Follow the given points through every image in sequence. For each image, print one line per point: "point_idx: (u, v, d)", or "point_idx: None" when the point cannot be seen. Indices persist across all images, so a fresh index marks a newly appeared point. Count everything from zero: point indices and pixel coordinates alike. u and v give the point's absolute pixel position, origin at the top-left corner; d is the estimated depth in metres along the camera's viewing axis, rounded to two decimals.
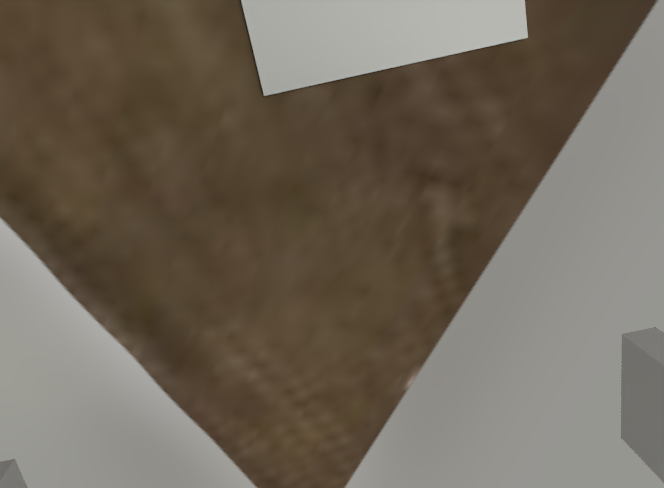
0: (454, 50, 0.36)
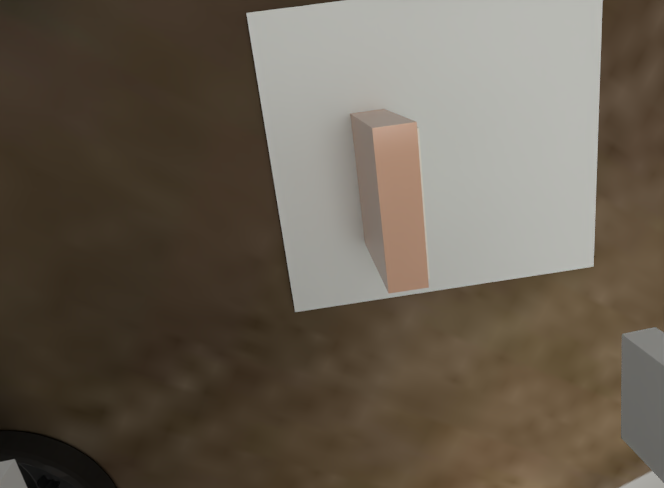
0: (596, 62, 0.32)
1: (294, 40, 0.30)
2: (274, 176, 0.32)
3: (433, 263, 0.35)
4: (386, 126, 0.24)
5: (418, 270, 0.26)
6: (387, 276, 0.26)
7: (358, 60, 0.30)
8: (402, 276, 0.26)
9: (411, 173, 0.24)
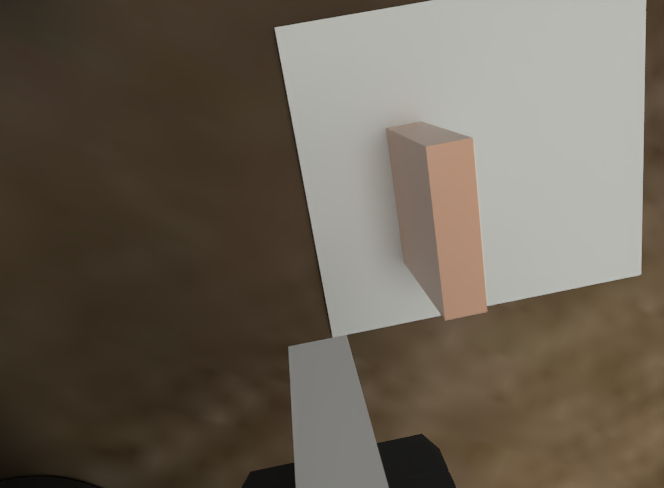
0: (641, 62, 0.30)
1: (325, 54, 0.28)
2: (308, 197, 0.30)
3: None
4: (440, 144, 0.22)
5: (476, 294, 0.24)
6: (443, 302, 0.24)
7: (393, 72, 0.29)
8: (459, 301, 0.24)
9: (467, 192, 0.23)
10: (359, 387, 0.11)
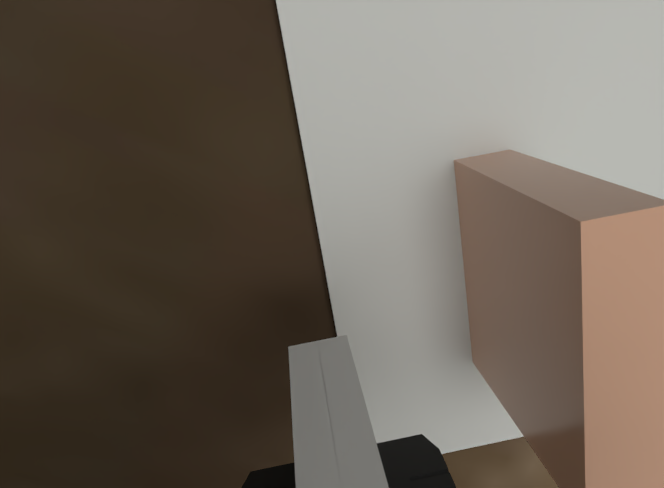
0: None
1: (360, 40, 0.17)
2: (327, 269, 0.19)
3: None
4: (610, 216, 0.11)
5: (646, 482, 0.13)
6: None
7: (469, 70, 0.18)
8: None
9: (652, 307, 0.12)
10: (359, 387, 0.11)
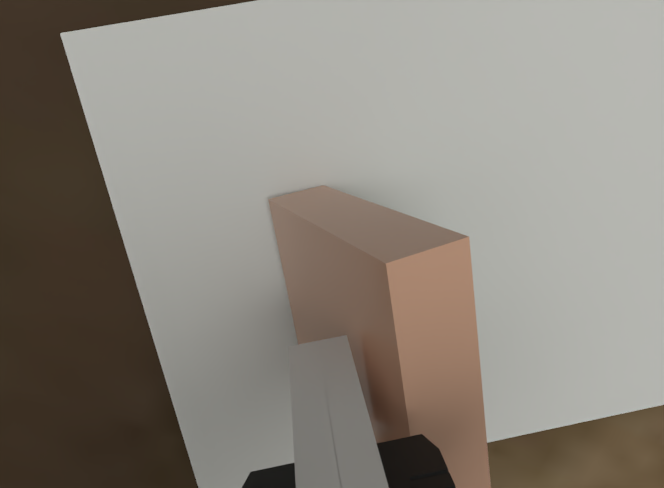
0: None
1: (154, 77, 0.17)
2: (145, 304, 0.19)
3: None
4: (413, 255, 0.11)
5: None
6: None
7: (272, 107, 0.17)
8: None
9: (462, 338, 0.12)
10: (359, 387, 0.11)
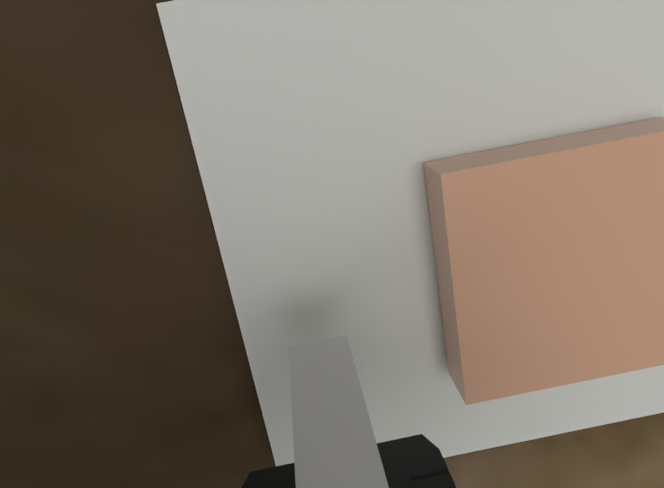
0: None
1: (250, 50, 0.16)
2: (232, 286, 0.18)
3: (506, 403, 0.21)
4: None
5: None
6: None
7: (369, 80, 0.17)
8: None
9: None
10: (359, 387, 0.11)
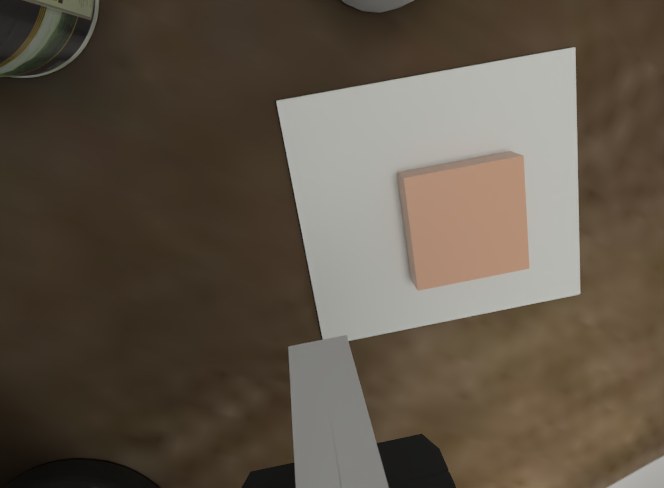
0: (573, 124, 0.37)
1: (317, 120, 0.35)
2: (303, 233, 0.37)
3: (441, 298, 0.40)
4: (518, 154, 0.36)
5: None
6: (528, 256, 0.37)
7: (371, 134, 0.36)
8: None
9: None
10: (359, 387, 0.11)
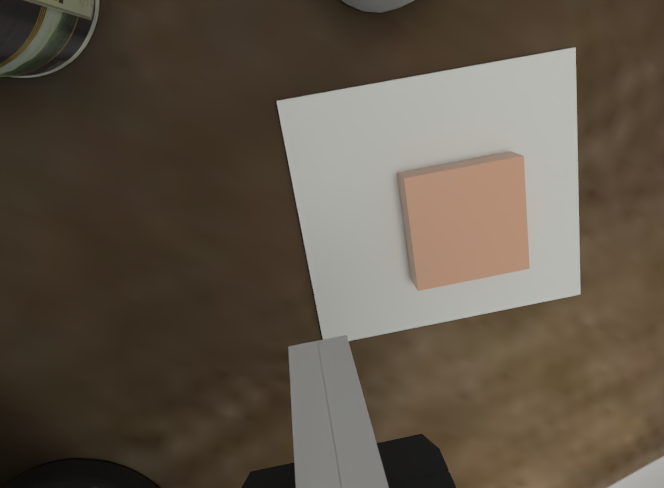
0: (574, 124, 0.37)
1: (317, 121, 0.35)
2: (303, 233, 0.37)
3: (441, 298, 0.40)
4: (519, 154, 0.36)
5: None
6: (528, 257, 0.37)
7: (371, 134, 0.36)
8: None
9: None
10: (359, 387, 0.11)
